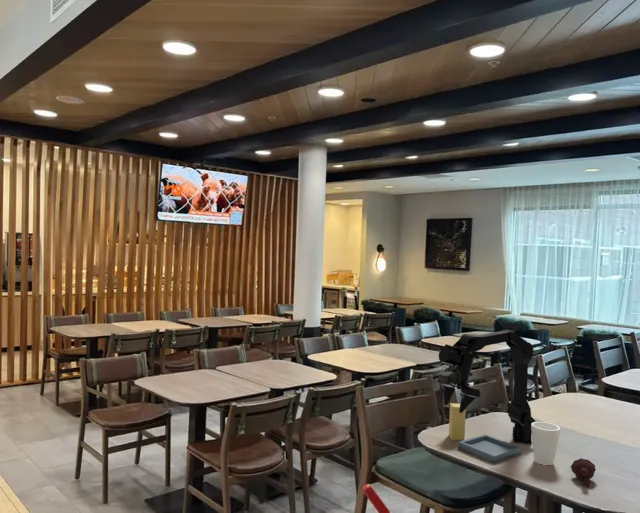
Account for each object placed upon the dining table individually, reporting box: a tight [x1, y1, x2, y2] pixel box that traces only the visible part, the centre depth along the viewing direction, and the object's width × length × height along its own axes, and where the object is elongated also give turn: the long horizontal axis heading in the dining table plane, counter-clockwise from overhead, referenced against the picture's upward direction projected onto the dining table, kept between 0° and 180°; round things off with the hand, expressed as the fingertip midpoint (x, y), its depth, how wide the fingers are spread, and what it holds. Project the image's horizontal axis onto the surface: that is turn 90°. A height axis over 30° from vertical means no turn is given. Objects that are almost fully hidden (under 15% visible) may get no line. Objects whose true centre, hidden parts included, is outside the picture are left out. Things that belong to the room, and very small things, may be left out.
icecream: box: [570, 457, 597, 488], centre depth 178 cm, size 7×7×15 cm
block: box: [448, 402, 467, 441], centre depth 212 cm, size 5×5×13 cm
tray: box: [457, 433, 522, 464], centre depth 199 cm, size 16×16×2 cm
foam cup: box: [531, 421, 561, 466], centre depth 191 cm, size 10×9×13 cm
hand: (452, 408), depth 198 cm, fingers open, 9 cm apart
